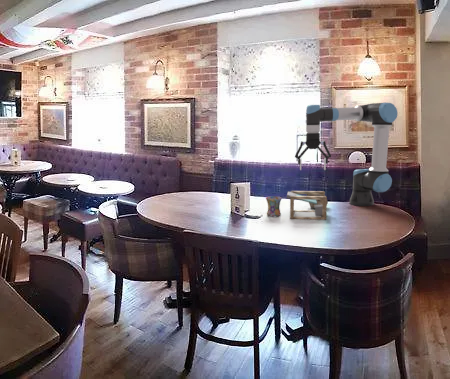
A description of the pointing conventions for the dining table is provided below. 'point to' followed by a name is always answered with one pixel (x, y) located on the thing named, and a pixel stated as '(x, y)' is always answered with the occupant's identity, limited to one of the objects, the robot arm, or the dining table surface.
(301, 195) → the trapdoor
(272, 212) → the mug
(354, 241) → the dining table surface
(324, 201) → the frame
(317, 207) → the stone
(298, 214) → the mat
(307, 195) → the rock
